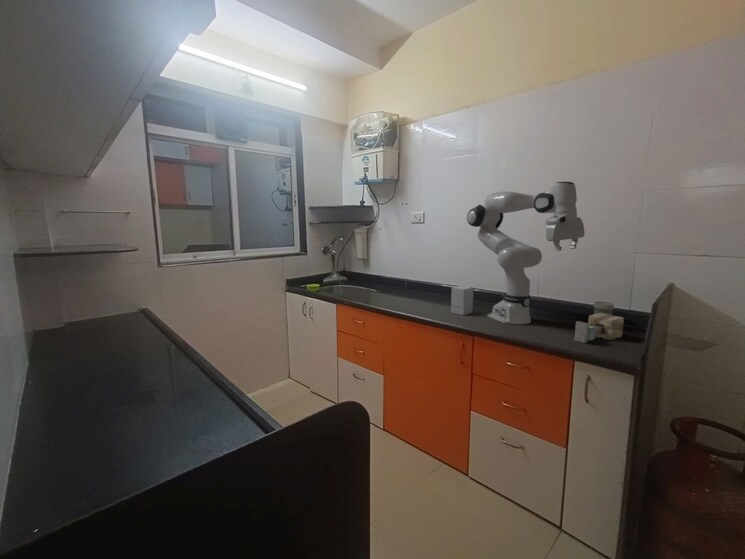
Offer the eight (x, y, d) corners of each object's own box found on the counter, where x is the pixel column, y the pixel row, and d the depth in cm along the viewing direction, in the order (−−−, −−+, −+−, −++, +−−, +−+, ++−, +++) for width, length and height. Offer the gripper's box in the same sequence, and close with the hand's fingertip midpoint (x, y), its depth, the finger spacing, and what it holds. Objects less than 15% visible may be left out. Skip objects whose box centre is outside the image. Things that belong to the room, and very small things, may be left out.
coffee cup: (607, 325, 170) (609, 301, 168) (615, 330, 162) (618, 305, 160) (588, 324, 172) (590, 301, 170) (595, 329, 164) (597, 304, 162)
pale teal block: (576, 337, 149) (577, 325, 148) (581, 335, 151) (582, 324, 150) (589, 340, 144) (590, 328, 144) (594, 339, 146) (595, 327, 145)
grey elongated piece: (574, 340, 148) (575, 321, 146) (598, 333, 156) (600, 316, 155) (584, 343, 144) (586, 324, 143) (608, 336, 152) (610, 318, 151)
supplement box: (473, 313, 196) (474, 287, 194) (463, 315, 191) (464, 289, 188) (460, 310, 203) (460, 285, 201) (450, 312, 198) (451, 287, 195)
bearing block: (587, 334, 157) (588, 315, 155) (598, 331, 161) (600, 312, 160) (610, 340, 148) (612, 320, 147) (621, 337, 152) (624, 317, 151)
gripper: (574, 217, 157) (575, 247, 159) (542, 220, 150) (543, 252, 151) (588, 216, 151) (588, 247, 153) (555, 219, 144) (556, 252, 145)
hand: (566, 249), depth 152 cm, fingers open, 8 cm apart
